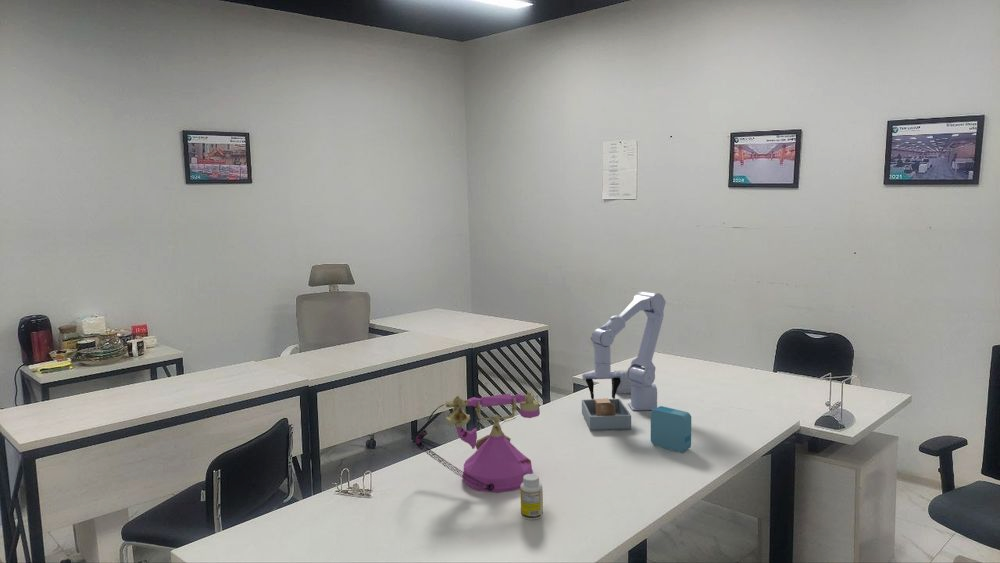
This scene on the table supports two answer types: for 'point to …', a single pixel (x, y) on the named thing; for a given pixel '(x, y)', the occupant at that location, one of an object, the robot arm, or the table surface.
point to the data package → (671, 429)
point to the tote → (606, 417)
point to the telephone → (490, 444)
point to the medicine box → (624, 383)
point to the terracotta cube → (598, 405)
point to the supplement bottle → (531, 497)
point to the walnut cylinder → (607, 409)
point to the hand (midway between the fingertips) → (602, 398)
